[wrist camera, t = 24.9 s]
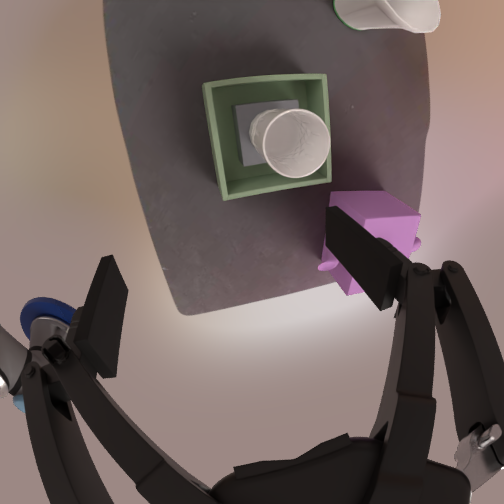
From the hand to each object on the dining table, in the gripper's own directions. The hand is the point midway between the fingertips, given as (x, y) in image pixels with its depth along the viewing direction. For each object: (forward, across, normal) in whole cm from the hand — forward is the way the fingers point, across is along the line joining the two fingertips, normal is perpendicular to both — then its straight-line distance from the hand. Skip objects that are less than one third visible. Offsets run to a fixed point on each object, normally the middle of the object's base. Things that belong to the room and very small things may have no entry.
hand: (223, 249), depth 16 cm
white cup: (+24, +11, +2) cm, 27 cm away
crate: (+29, +11, +2) cm, 31 cm away
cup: (+29, +30, +24) cm, 48 cm away
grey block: (+28, +10, +2) cm, 30 cm away
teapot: (+29, +27, -18) cm, 43 cm away
